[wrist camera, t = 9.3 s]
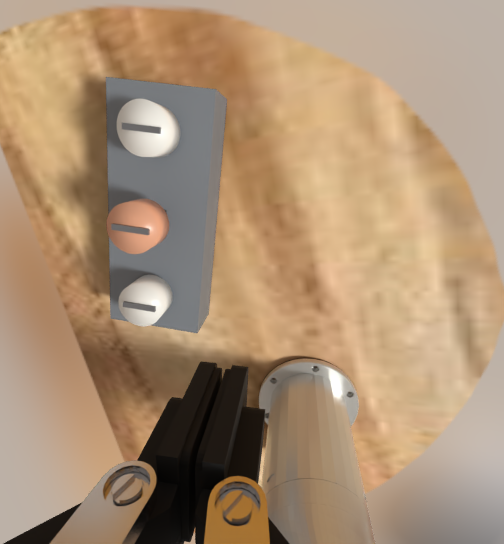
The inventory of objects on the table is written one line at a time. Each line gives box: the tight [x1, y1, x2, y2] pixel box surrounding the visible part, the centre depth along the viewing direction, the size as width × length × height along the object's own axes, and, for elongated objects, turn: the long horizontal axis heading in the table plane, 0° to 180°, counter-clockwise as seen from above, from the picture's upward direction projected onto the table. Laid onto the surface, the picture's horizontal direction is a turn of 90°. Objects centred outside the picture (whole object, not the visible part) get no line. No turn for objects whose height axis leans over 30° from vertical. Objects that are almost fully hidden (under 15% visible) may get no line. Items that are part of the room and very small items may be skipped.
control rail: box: [106, 77, 227, 333], centre depth 36 cm, size 24×10×5 cm, turn 173°
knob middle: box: [106, 199, 169, 254], centre depth 31 cm, size 4×4×6 cm
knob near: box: [117, 99, 180, 157], centre depth 30 cm, size 4×4×6 cm
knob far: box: [118, 275, 173, 326], centre depth 35 cm, size 4×4×6 cm
